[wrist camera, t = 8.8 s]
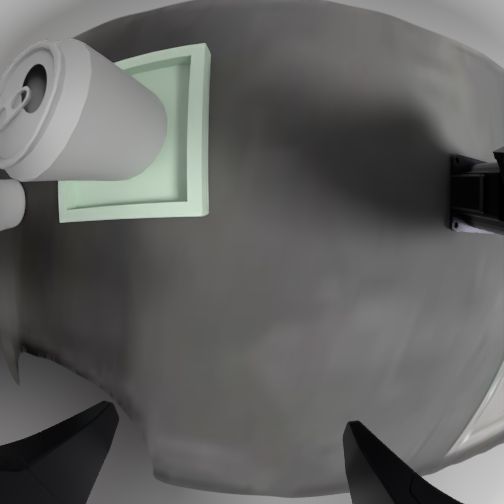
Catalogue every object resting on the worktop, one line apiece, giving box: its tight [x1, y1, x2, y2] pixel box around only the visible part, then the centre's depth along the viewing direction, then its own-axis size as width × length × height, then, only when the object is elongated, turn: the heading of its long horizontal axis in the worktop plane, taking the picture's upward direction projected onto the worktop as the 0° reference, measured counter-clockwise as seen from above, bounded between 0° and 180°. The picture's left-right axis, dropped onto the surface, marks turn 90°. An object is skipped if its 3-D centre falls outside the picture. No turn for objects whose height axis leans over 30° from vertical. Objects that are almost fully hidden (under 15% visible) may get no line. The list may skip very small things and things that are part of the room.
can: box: [0, 38, 168, 182], centre depth 12 cm, size 8×8×12 cm
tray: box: [58, 43, 211, 223], centre depth 18 cm, size 13×13×2 cm
